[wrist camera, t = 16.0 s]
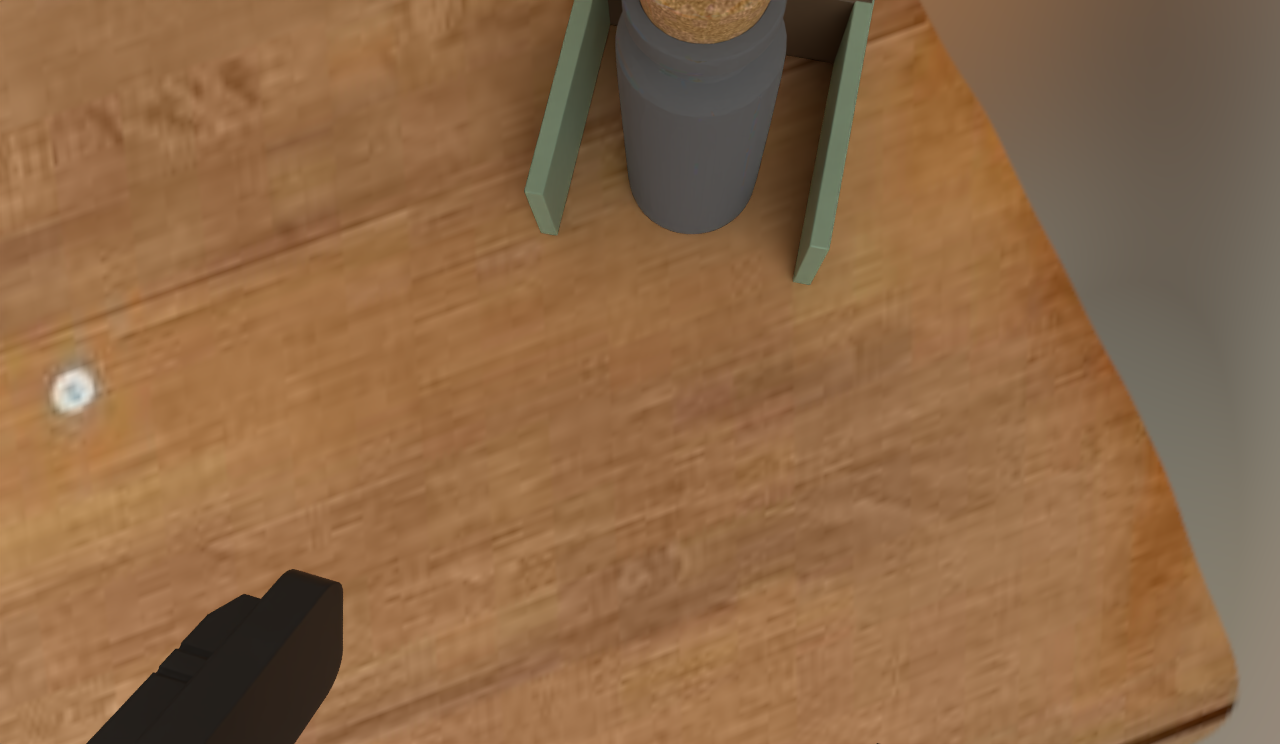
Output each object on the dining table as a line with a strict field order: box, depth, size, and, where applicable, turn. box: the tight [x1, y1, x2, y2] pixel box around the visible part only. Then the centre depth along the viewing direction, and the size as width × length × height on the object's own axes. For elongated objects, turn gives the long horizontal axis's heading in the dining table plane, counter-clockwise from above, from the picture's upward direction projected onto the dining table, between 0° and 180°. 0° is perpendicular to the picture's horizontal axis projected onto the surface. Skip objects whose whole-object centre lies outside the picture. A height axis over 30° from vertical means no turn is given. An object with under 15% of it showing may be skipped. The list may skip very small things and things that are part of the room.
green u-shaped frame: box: [524, 0, 874, 285], centre depth 36 cm, size 12×12×4 cm
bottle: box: [615, 0, 787, 234], centre depth 31 cm, size 6×6×15 cm
